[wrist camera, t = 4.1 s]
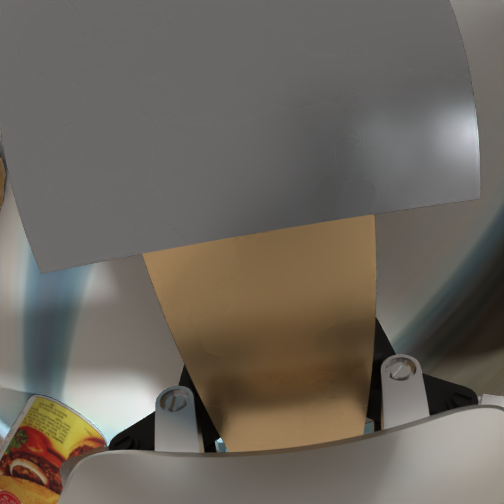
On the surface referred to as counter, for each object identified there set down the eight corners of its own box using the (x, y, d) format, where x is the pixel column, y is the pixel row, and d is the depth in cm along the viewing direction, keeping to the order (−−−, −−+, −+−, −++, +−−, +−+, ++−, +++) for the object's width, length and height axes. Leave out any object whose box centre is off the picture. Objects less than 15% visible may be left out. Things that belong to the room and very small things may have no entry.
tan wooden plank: (291, -15, 7) (314, -103, 2) (342, 423, 15) (357, 497, 10) (146, 16, 7) (71, -44, 3) (256, 435, 15) (254, 510, 10)
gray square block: (308, -34, 7) (350, -153, 1) (351, 152, 10) (480, 199, 4) (125, 4, 8) (13, -70, 1) (160, 187, 11) (41, 274, 4)
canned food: (104, 460, 20) (72, 559, 9) (33, 421, 19) (-11, 511, 8) (112, 428, 18) (67, 561, 6) (25, 379, 16) (-42, 491, 5)
